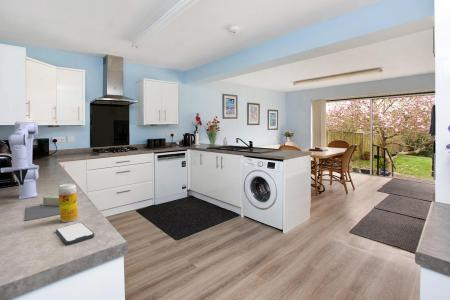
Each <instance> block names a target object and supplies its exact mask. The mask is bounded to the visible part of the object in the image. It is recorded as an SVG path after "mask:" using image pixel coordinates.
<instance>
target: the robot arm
mask: <svg viewBox="0 0 450 300" xmlns="http://www.w3.org/2000/svg"><path fill="white" fill-rule="evenodd" d="M38 134H39V126H38V123H37V122H36V121H15V122H14V132H13V133H12V134H11V135H9V136H8V144H9V147H10V151H11V159H12V160H11V162H12V166H10V167H1V168H0V173H10V172H13V177H14V180H15V181H16V182H17V183H18V189H19V191H18V192H19V196H18V199H19V200H23V199H29V198H36V197H38V195H39V194H38V192H37V182H36V180H38V179H39V170H40V165H36V164H34V163H33V145H34V140H35V139H36V138H38Z"/></svg>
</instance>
